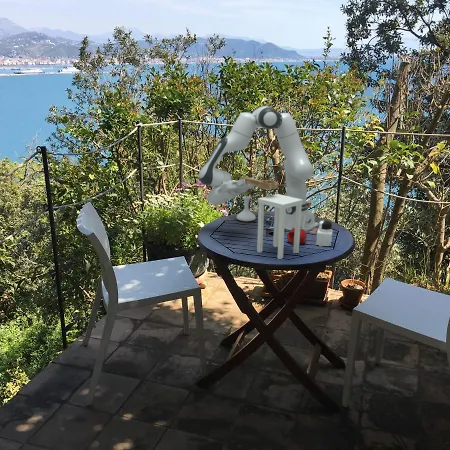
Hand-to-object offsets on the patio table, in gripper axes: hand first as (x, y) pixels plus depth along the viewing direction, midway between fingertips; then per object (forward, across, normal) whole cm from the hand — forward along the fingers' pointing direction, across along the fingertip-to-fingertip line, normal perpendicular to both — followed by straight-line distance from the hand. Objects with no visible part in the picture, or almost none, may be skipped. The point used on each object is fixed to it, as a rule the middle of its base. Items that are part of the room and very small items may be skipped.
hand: (248, 179), depth 220 cm
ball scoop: (+4, 0, +4) cm, 6 cm away
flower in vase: (-40, +28, +14) cm, 51 cm away
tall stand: (+2, 0, +38) cm, 38 cm away
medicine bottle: (+9, +26, +42) cm, 50 cm away
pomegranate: (-1, +18, +37) cm, 41 cm away
